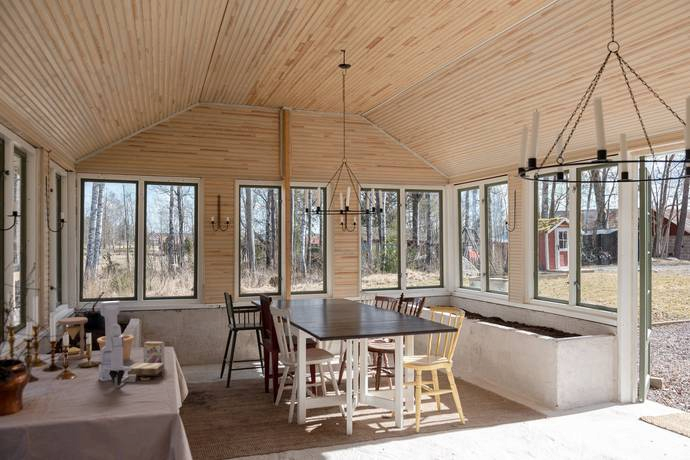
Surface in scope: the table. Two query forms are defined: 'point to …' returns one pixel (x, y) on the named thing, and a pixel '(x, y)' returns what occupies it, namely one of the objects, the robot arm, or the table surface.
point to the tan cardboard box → (147, 369)
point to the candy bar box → (154, 352)
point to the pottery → (126, 346)
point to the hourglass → (73, 330)
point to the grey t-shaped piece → (124, 380)
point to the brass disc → (145, 378)
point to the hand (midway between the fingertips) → (117, 384)
